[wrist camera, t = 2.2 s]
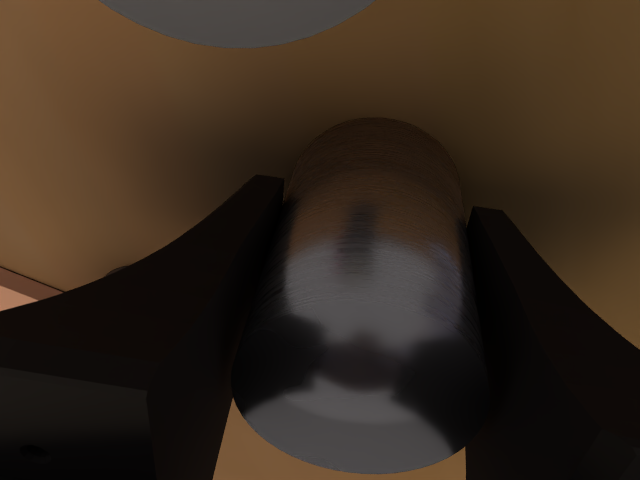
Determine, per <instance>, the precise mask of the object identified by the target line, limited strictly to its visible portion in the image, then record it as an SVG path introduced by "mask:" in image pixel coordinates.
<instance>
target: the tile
mask: <svg viewBox="0 0 640 480" xmlns="http://www.w3.org/2000/svg"><path fill="white" fill-rule="evenodd" d="M61 293H64V292H61V291H59V290H56V289H53V288H51V287H48V286H46V285H43V284H41V283H38V282H36V281H33V280H31V279H28V278H26V277H23V276H21V275H18V274H15V273H13V272H10V271H8V270H5V269H3V268H0V311H2V310H6V309H10V308H13V307H17V306H21V305H24V304H28V303H32V302H35V301H39V300H43V299H46V298H49V297H52V296H55V295H58V294H61Z"/></svg>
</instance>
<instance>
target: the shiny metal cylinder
mask: <svg viewBox="0 0 640 480" xmlns="http://www.w3.org/2000/svg"><path fill="white" fill-rule="evenodd" d="M231 389H232V394H233V398H234V400H235V403H236V406H237V407H238V409H239V411H240V413H241V414H242V416H243V417H244V419H245V420H246V421H247V423H248V424H249V425H250V426H251V427H252V428H253V429H254V430H255V431H256V432H257V433H258V434H259V435H260V436H261V437H263V438H264V439H265V440H266V441H268V442H269V443H270V444H272V445H273V446H275V447H277V448H278V449H280V450H281V451H283V452H285V453H287V454H289V455H291V456H293V457H295V458H298V459H300V460H302V461H305V462H308V463H311V464H314V465H317V466H320V467H324V468H328V469H332V470H337V471H343V472H350V473H361V474H387V473H398V472H405V471H410V470H415V469H419V468H423V467H426V466H429V465H432V464H435V463H437V462H440V461H442V460H444V459H446V458H448V457H450V456H452V455H453V454H455V453H457V452H458V451H460V450H461V449H462V448H464V447H465V446H466V445H467V444H469V442H470V441H471V440H472V439H473V438H474V437H475V436H476V435H477V434H478V432H479V431H480V429H481V428H482V426H483V425H484V422H485V420H486V418H487V416H488V411H489V407H490V389H489V382H488V375H487V369H486V362H485V355H484V348H483V341H482V334H481V327H480V320H479V313H478V306H477V299H476V292H475V285H474V278H473V272H472V265H471V258H470V251H469V244H468V237H467V230H466V223H465V216H464V209H463V202H462V195H461V188H460V182H459V177H458V173H457V170H456V167H455V165H454V163H453V161H452V159H451V157H450V156H449V154H448V153H447V152H446V150H445V149H444V148H443V147H442V146H441V145H440V144H439V143H438V142H437V141H436V140H435V139H434V138H433V137H431V136H430V135H429V134H427V133H426V132H424V131H422V130H420V129H419V128H417V127H415V126H412V125H410V124H407V123H404V122H401V121H397V120H392V119H386V118H363V119H356V120H352V121H347V122H344V123H342V124H339V125H336V126H334V127H332V128H330V129H328V130H326V131H325V132H323V133H322V134H321V135H319V136H318V137H317V138H315V139H314V140H313V141H312V142H311V143H310V144H309V145H308V146H307V148H306V149H305V150H304V151H303V153H302V154H301V156H300V158H299V159H298V161H297V164H296V166H295V169H294V172H293V175H292V178H291V181H290V184H289V187H288V191H287V194H286V197H285V200H284V203H283V206H282V210H281V213H280V216H279V219H278V222H277V226H276V229H275V232H274V235H273V238H272V241H271V245H270V248H269V251H268V254H267V257H266V261H265V264H264V267H263V270H262V273H261V276H260V280H259V283H258V286H257V289H256V292H255V296H254V299H253V302H252V305H251V308H250V311H249V315H248V318H247V321H246V324H245V327H244V331H243V334H242V337H241V340H240V343H239V346H238V350H237V353H236V356H235V359H234V362H233V367H232V371H231Z"/></svg>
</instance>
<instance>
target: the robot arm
mask: <svg viewBox="0 0 640 480" xmlns="http://www.w3.org/2000/svg"><path fill="white" fill-rule="evenodd" d="M283 190H284V178H277V177H270V176H264V175H255V176H254V177H252V178H251V179H250V180H249V181H248V182H247V183H246V184H244V185H243V186H242V187H241V188H240V189H239V190H238V191H237V192H236V193H235V194H233V195H232V196H231V197H230V198H229V199H228V200H227V201H225V202H224V203H223V204H222V205H221V206H219V207H218V208H217V209H216V210H215V211H213V212H212V213H211V214H210V215H209V216H207V217H206V218H205V219H204V220H202V221H201V222H200V223H198V224H197V225H195V226H194V227H193V228H191V229H190V230H189V231H187V232H186V233H184V234H183V235H182V236H180V237H179V238H177V239H176V240H174V241H173V242H171V243H170V244H168V245H167V246H165V247H163V248H162V249H160V250H158V251H156V252H155V253H153V254H151V255H149V256H147V257H146V258H144V259H142V260H140V261H138V262H136V263H134V264H132V265H129V266H127V267H125V268H123V269H121V270H119V271H116V272H114V273H112V274H110V275H108V276H106V277H104V278H101V279H99V280H96V281H94V282H91V283H89V284H86V285H83V286H81V287H78V288H75V289H73V290H70V291H67V292H64V293H61V294H58V295H55V296H52V297H49V298H46V299H43V300H39V301H35V302H32V303H28V304H24V305H21V306H17V307H13V308H10V309H6V310H2V311H0V480H212V479H213V475H214V471H215V467H216V462H217V458H218V454H219V450H220V446H221V442H222V438H223V434H224V430H225V426H226V422H227V418H228V414H229V410H230V406H231V402H232V398H233V394H232V389H231V371H232V367H233V362H234V359H235V356H236V353H237V350H238V346H239V343H240V340H241V337H242V334H243V331H244V327H245V324H246V321H247V318H248V315H249V311H250V308H251V305H252V302H253V299H254V296H255V292H256V289H257V286H258V283H259V280H260V276H261V273H262V270H263V267H264V264H265V261H266V257H267V254H268V251H269V248H270V245H271V241H272V238H273V235H274V232H275V229H276V226H277V222H278V219H279V216H280V213H281V210H282V204H283ZM466 230H467V237H468V244H469V251H470V258H471V265H472V272H473V278H474V285H475V292H476V299H477V306H478V313H479V320H480V327H481V334H482V341H483V348H484V355H485V362H486V369H487V375H488V382H489V389H490V407H489V411H488V416H487V418H486V420H485V422H484V425H483V426H482V428H481V429H480V431H479V432H478V434H477V435H476V436H475V437H474V438H473V439H472V440H471V441H470V442H469V444H467V445H466V446H465V451H466V480H640V350H639V349H638V348H637V347H635V346H634V345H633V344H631V343H630V342H629V341H628V340H626V339H625V338H624V337H622V336H621V335H620V334H619V333H618V332H616V331H615V330H614V329H613V328H612V327H611V326H609V325H608V324H607V323H606V322H605V321H604V320H602V319H601V318H600V317H599V316H598V315H597V314H595V313H594V312H593V311H592V310H591V309H590V308H589V307H588V306H587V305H586V304H585V303H584V302H583V301H582V300H581V299H580V298H579V297H578V296H577V295H576V294H575V293H574V292H573V291H572V290H571V289H570V288H569V287H568V286H567V285H566V284H565V283H564V282H563V281H562V280H561V279H560V278H559V277H558V276H557V275H556V274H555V272H554V271H553V270H552V269H551V268H550V267H549V266H548V265H547V264H546V262H545V261H544V260H543V259H542V258H541V257H540V255H539V254H538V253H537V252H536V251H535V249H534V248H533V247H532V246H531V245H530V243H529V242H528V241H527V240H526V239H525V237H524V236H523V235H522V234H521V232H520V231H519V230H518V229H517V227H516V226H515V225H514V224H513V223H512V221H511V220H510V219H509V218H508V217H507V215H506V214H505V213H504V212H503V211H502V210H496V209H489V208H482V207H475V206H473V209H472V212H471V215H470V218H469V222H468V225H467V228H466Z"/></svg>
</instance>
